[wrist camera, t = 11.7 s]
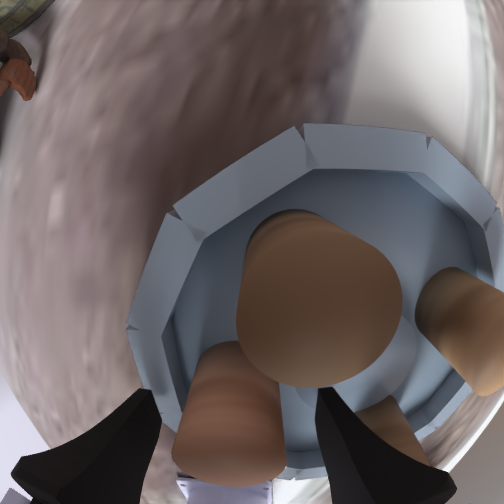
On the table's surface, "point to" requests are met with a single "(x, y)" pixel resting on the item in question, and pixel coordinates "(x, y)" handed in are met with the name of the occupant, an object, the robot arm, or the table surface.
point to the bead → (465, 326)
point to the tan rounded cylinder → (393, 427)
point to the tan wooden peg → (314, 301)
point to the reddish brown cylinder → (231, 422)
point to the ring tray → (345, 216)
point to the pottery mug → (15, 67)
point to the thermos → (20, 13)
